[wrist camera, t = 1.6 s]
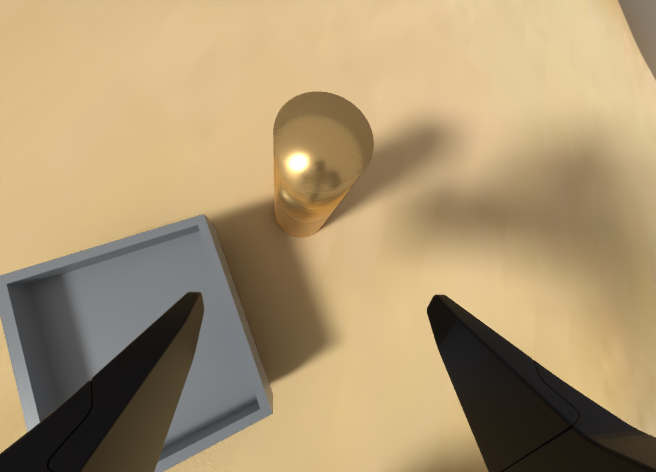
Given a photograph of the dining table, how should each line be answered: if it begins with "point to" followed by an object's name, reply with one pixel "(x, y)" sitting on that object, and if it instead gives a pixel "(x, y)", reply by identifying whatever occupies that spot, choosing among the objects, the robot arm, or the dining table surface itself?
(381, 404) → the dining table surface
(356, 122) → the gold cylinder
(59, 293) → the gray rectangular tray
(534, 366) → the robot arm
